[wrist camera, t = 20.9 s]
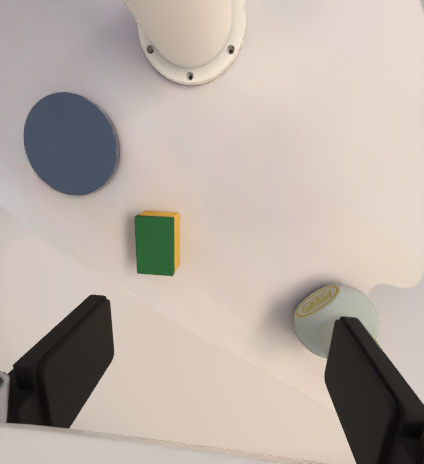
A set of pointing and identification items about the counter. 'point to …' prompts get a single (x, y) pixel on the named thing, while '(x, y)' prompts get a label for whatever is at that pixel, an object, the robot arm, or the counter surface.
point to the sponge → (157, 242)
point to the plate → (71, 143)
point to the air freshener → (332, 315)
